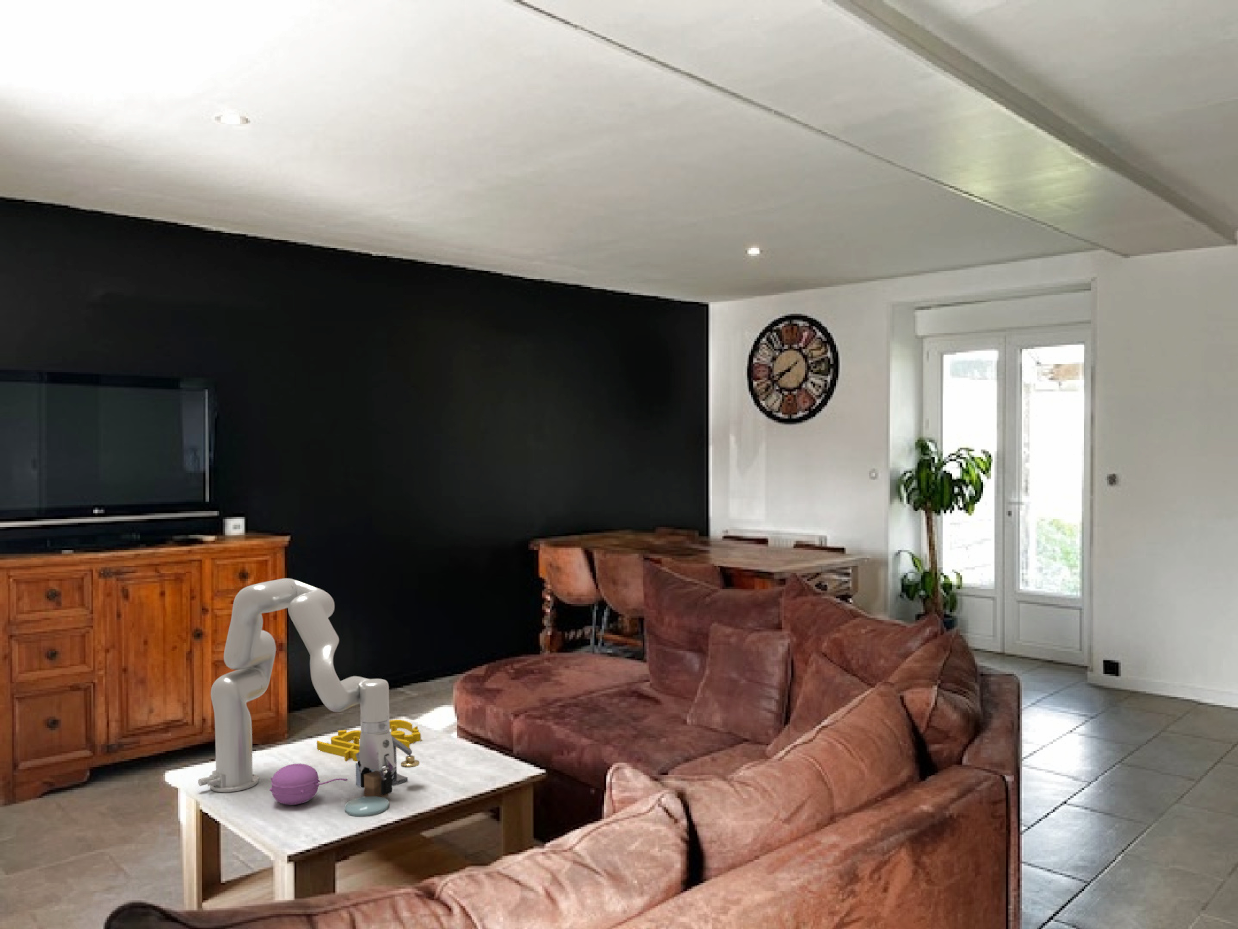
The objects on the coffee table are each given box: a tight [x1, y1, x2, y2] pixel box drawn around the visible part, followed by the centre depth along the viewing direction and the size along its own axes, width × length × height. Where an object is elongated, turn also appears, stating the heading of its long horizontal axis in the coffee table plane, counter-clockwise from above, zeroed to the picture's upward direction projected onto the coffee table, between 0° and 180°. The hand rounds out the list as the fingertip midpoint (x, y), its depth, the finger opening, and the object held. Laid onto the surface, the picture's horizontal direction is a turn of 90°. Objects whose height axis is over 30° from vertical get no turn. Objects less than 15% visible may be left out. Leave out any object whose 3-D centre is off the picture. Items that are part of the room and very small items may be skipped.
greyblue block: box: [355, 762, 375, 787], centre depth 262 cm, size 4×4×6 cm
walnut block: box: [363, 771, 389, 798], centre depth 252 cm, size 4×4×6 cm
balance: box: [392, 736, 420, 787], centre depth 263 cm, size 5×20×14 cm, turn 49°
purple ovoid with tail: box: [269, 763, 348, 806], centre depth 247 cm, size 12×19×10 cm, turn 77°
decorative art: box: [316, 719, 422, 762], centre depth 300 cm, size 34×3×30 cm
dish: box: [344, 796, 390, 817], centre depth 243 cm, size 11×11×1 cm
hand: (376, 790), depth 252 cm, fingers open, 8 cm apart
